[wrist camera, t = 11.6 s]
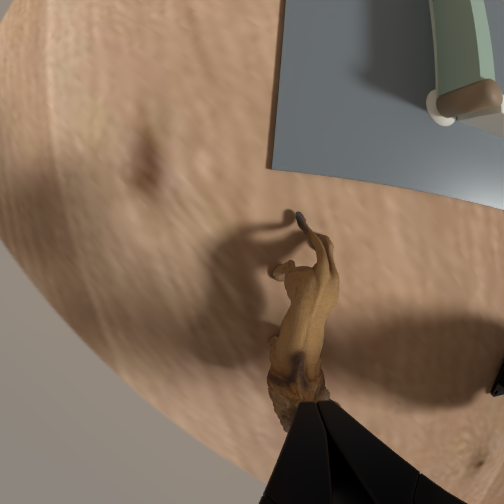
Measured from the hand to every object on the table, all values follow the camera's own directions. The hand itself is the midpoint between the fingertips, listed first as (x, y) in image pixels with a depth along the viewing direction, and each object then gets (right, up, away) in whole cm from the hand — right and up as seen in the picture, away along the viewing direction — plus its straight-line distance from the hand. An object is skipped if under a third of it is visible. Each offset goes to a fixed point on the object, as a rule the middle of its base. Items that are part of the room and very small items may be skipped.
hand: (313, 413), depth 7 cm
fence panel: (+12, +19, +8) cm, 23 cm away
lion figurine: (+1, +1, +13) cm, 14 cm away
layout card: (+11, +18, +9) cm, 23 cm away
